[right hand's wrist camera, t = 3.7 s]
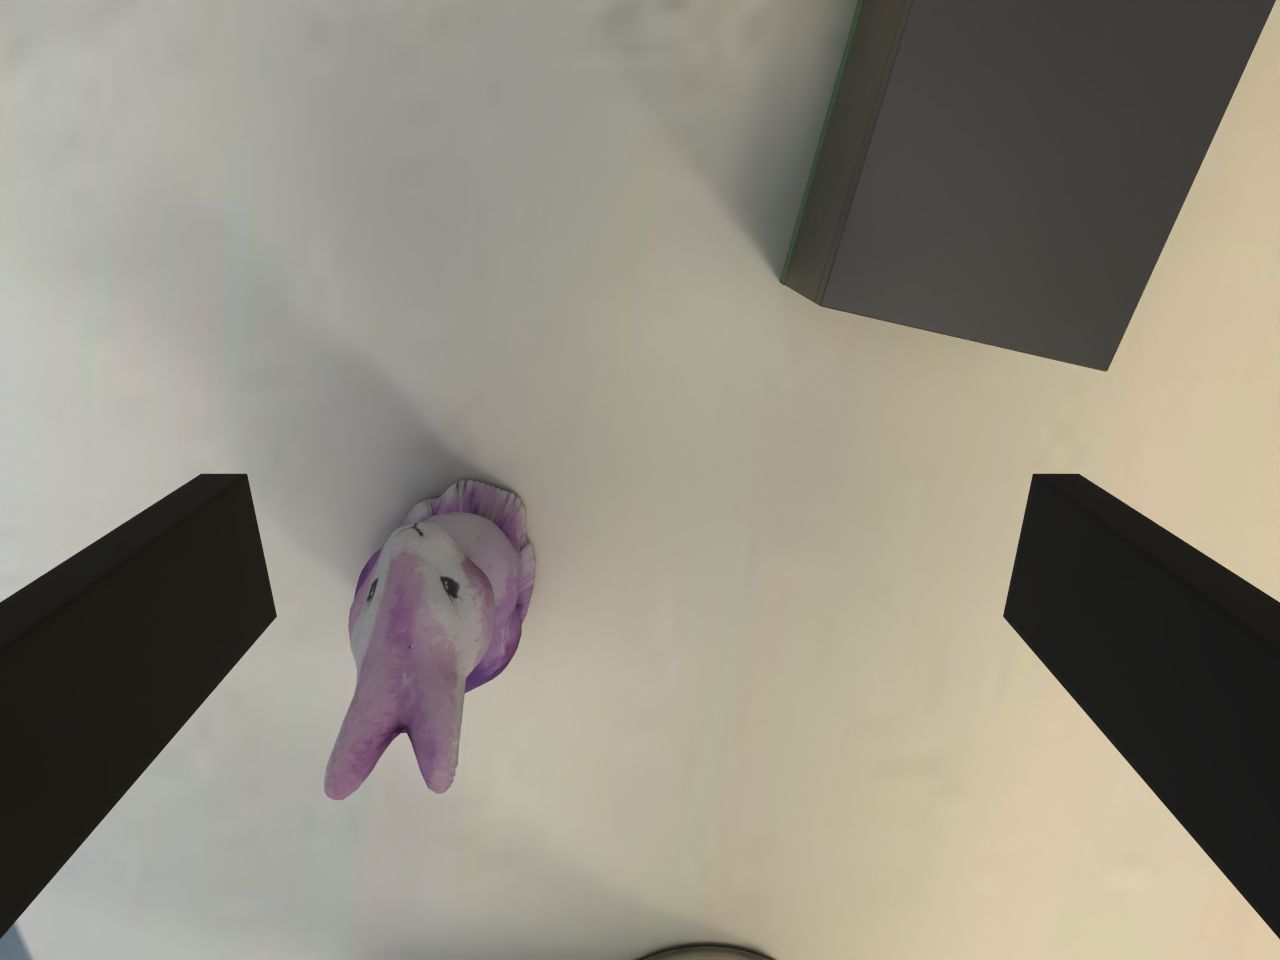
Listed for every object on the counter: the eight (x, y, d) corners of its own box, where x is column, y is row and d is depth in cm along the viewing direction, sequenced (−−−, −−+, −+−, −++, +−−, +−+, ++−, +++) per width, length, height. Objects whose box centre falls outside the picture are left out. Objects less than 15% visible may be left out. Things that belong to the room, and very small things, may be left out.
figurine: (493, 432, 35) (397, 587, 21) (584, 601, 39) (553, 830, 25) (326, 506, 37) (134, 696, 23) (429, 663, 40) (316, 913, 26)
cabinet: (903, -159, 27) (999, -288, 20) (1172, -82, 28) (1358, -180, 21) (779, 282, 33) (819, 306, 26) (1007, 334, 34) (1107, 372, 27)
